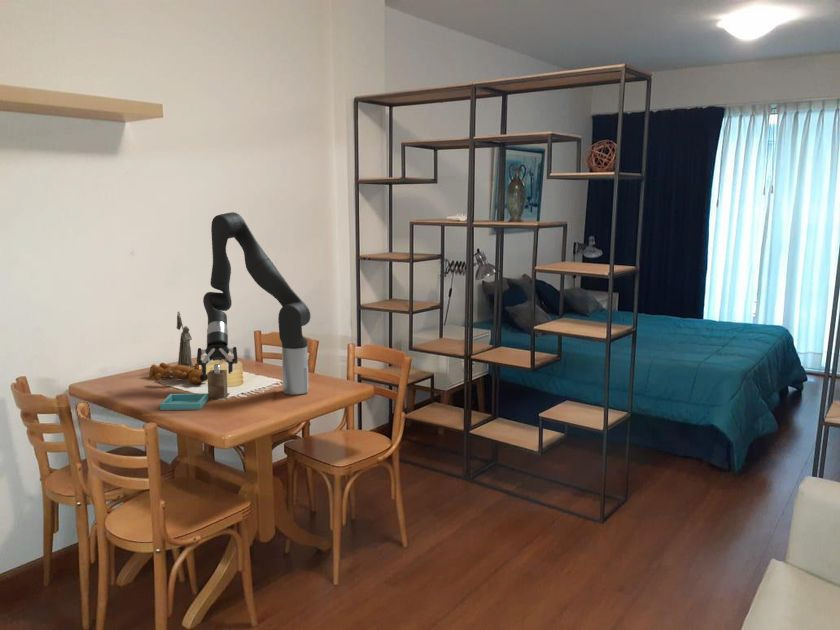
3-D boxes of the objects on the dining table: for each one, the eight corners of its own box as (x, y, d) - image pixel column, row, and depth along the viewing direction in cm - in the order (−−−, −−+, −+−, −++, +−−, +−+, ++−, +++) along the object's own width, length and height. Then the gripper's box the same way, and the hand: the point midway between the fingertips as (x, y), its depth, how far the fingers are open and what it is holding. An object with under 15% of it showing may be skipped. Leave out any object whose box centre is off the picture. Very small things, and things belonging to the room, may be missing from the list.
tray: (208, 400, 231) (208, 393, 231) (200, 410, 219) (200, 403, 219) (170, 401, 230) (170, 394, 229) (160, 411, 218) (160, 403, 218)
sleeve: (227, 393, 238) (226, 369, 237) (224, 398, 233) (223, 373, 231) (211, 393, 238) (210, 369, 236) (208, 398, 232) (207, 373, 231)
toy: (135, 383, 257) (184, 392, 241) (134, 366, 256) (182, 374, 240) (178, 373, 274) (226, 381, 257) (177, 357, 273) (225, 364, 256)
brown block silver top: (229, 394, 239) (228, 362, 237) (226, 399, 232) (224, 367, 230) (210, 394, 238) (209, 362, 236) (205, 400, 231) (204, 367, 230)
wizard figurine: (184, 373, 269) (181, 313, 265) (167, 371, 272) (164, 311, 268) (200, 367, 279) (198, 310, 275) (184, 365, 282) (181, 308, 278)
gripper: (196, 331, 241) (195, 368, 232) (236, 329, 244) (237, 366, 235) (198, 342, 247) (197, 379, 237) (237, 341, 250) (238, 377, 241)
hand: (217, 373), depth 236 cm, fingers open, 8 cm apart
